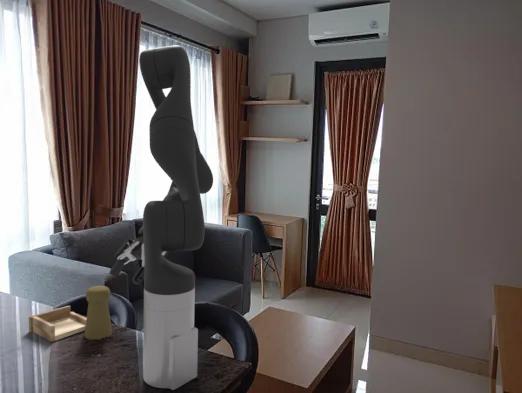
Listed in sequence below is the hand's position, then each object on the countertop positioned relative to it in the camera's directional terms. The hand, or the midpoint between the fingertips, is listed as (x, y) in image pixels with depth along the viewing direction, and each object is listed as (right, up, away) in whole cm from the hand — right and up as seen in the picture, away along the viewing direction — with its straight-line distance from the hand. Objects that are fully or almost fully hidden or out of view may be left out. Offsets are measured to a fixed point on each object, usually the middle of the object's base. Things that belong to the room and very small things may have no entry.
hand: (123, 279), depth 103 cm
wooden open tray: (-13, -11, -3) cm, 18 cm away
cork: (-4, -12, -4) cm, 13 cm away
